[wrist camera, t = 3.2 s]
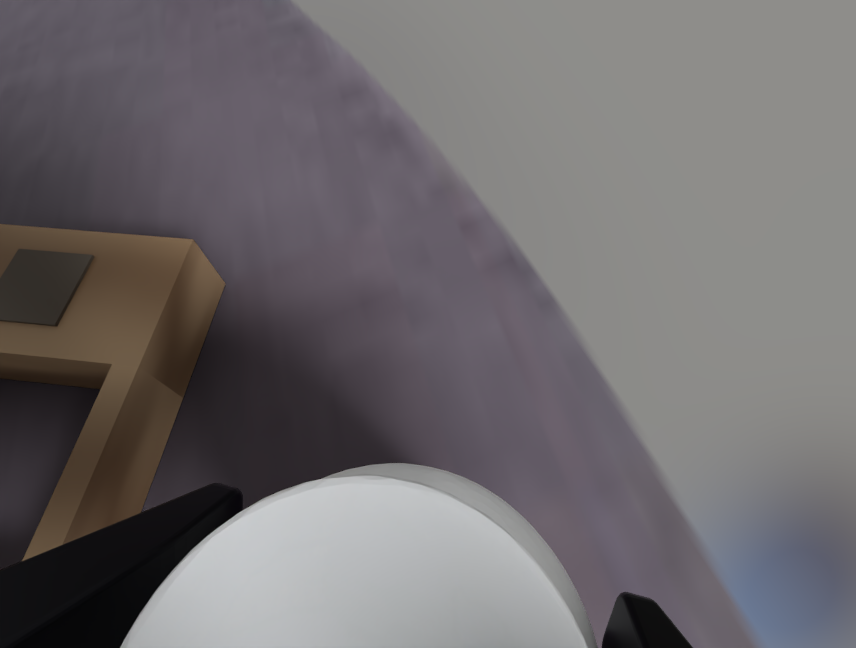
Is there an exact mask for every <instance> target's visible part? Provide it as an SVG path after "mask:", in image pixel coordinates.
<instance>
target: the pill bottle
mask: <svg viewBox="0 0 856 648" xmlns="http://www.w3.org/2000/svg"><path fill="white" fill-rule="evenodd" d="M120 648H598V647H597V643H596V640H595V636H594V633H593V630H592V627H591V624H590V621H589V619H588V616H587V613H586V611H585V608H584V606H583V604H582V602H581V599H580V597H579V595H578V593H577V591H576V588H575V587H574V585H573V583H572V581H571V580H570V578H569V576H568V574H567V572H566V571H565V569H564V567H563V566H562V564H561V563H560V561H559V560H558V558H557V557H556V555H555V554H554V552H553V551H552V550H551V548H550V547H549V546H548V544H547V543H546V542H545V541H544V540H543V538H542V537H541V536H540V535H539V534H538V533H537V531H536V530H535V529H534V528H533V527H532V526H531V524H530V523H529V522H528V521H527V520H526V519H525V518H524V517H523V516H521V515H520V514H519V513H518V512H517V511H516V510H515V509H513V508H512V507H511V506H510V505H509V504H508V503H506V502H505V501H504V500H502V499H501V498H500V497H498V496H497V495H495V494H494V493H492V492H490V491H489V490H487V489H486V488H484V487H482V486H481V485H479V484H477V483H475V482H473V481H471V480H468V479H466V478H464V477H462V476H459V475H456V474H454V473H451V472H448V471H445V470H441V469H437V468H433V467H428V466H422V465H415V464H407V463H386V464H374V465H367V466H362V467H357V468H352V469H347V470H344V471H341V472H338V473H335V474H332V475H329V476H326V477H324V478H322V479H319V480H314V481H309V482H305V483H302V484H299V485H296V486H293V487H290V488H287V489H284V490H282V491H279V492H277V493H274V494H272V495H270V496H268V497H265V498H263V499H261V500H260V501H258V502H256V503H255V504H253V505H251V506H249V507H248V508H246V509H244V510H243V511H241V512H239V513H238V514H236V515H235V516H233V517H232V518H231V519H229V520H228V521H227V522H225V523H224V524H222V525H221V526H220V527H218V528H217V529H215V530H214V531H213V532H212V533H211V534H209V535H208V536H207V537H206V538H205V539H203V540H202V541H201V542H200V543H199V544H198V545H197V546H195V547H194V548H193V549H192V550H191V551H190V552H189V553H188V554H187V555H186V556H185V557H184V558H183V559H182V561H181V562H180V563H179V564H178V565H177V566H176V567H175V568H174V569H173V570H172V571H171V573H170V574H169V575H168V576H167V578H166V579H165V580H164V581H163V582H162V584H161V585H160V586H159V587H158V588H157V590H156V591H155V592H154V594H153V595H152V597H151V598H150V600H149V601H148V602H147V604H146V605H145V607H144V608H143V610H142V611H141V612H140V614H139V616H138V617H137V619H136V621H135V622H134V624H133V626H132V627H131V629H130V631H129V632H128V634H127V636H126V638H125V639H124V641H123V643H122V645H121V647H120Z"/></svg>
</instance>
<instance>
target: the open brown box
mask: <svg viewBox="0 0 856 648" xmlns="http://www.w3.org/2000/svg"><path fill="white" fill-rule="evenodd" d="M224 286H225V282H224V281H223V280H222V278H221V277H220V275H219V274H218V273H217V271H216V270H215V269H214V267H213V266H212V265H211V263H210V262H209V260H208V259H207V258H206V256H205V255H204V254H203V252H202V251H201V249H200V248H199V247H198V245H197V244H196V243H195V241H194V240H193V239H181V238H169V237H156V236H144V235H131V234H119V233H106V232H94V231H81V230H69V229H57V228H44V227H32V226H19V225H7V224H0V378H2V379H11V380H20V381H29V382H39V383H48V384H57V385H66V386H76V387H85V388H94V389H100V392H99V394H98V396H97V398H96V400H95V403H94V405H93V407H92V409H91V411H90V414H89V416H88V418H87V420H86V422H85V424H84V427H83V429H82V431H81V433H80V435H79V438H78V440H77V442H76V444H75V446H74V449H73V451H72V453H71V455H70V457H69V459H68V462H67V464H66V466H65V468H64V470H63V473H62V475H61V477H60V479H59V481H58V484H57V486H56V488H55V490H54V492H53V494H52V497H51V499H50V501H49V503H48V505H47V508H46V510H45V512H44V514H43V516H42V518H41V521H40V523H39V525H38V527H37V529H36V532H35V534H34V536H33V538H32V540H31V543H30V545H29V547H28V549H27V551H26V553H25V556H24V558H23V560H22V561H24V560H26V559H29V558H31V557H34V556H36V555H38V554H41V553H43V552H46V551H48V550H51V549H53V548H56V547H58V546H60V545H63V544H65V543H68V542H70V541H73V540H75V539H78V538H80V537H83V536H85V535H87V534H90V533H92V532H95V531H97V530H100V529H102V528H105V527H107V526H109V525H112V524H114V523H117V522H119V521H122V520H124V519H127V518H129V517H131V516H134V515H136V514H139V513H141V510H142V508H143V505H144V502H145V500H146V497H147V494H148V492H149V489H150V486H151V483H152V481H153V478H154V475H155V473H156V470H157V467H158V465H159V462H160V459H161V456H162V454H163V451H164V448H165V446H166V443H167V440H168V438H169V435H170V432H171V429H172V427H173V424H174V421H175V419H176V416H177V413H178V411H179V408H180V405H181V402H182V400H183V397H184V394H185V392H186V389H187V386H188V384H189V381H190V378H191V375H192V373H193V370H194V367H195V365H196V362H197V359H198V357H199V354H200V351H201V348H202V346H203V343H204V340H205V338H206V335H207V332H208V330H209V327H210V324H211V321H212V319H213V316H214V313H215V311H216V308H217V305H218V303H219V300H220V297H221V294H222V292H223V289H224Z"/></svg>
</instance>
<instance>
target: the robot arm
mask: <svg viewBox="0 0 856 648" xmlns="http://www.w3.org/2000/svg"><path fill="white" fill-rule="evenodd" d="M242 508H243V495H242V492H241V491H240V490H239V489H238V488H235V487H231V486H228V485H224V484H220V483H213V484H210V485H207V486H205V487H202V488H200V489H198V490H195V491H193V492H190V493H188V494H185V495H183V496H180V497H178V498H176V499H173V500H171V501H168V502H166V503H163V504H161V505H158V506H156V507H153V508H151V509H149V510H146V511H144V512H141V513H139V514H136V515H134V516H131V517H129V518H127V519H124V520H122V521H119V522H117V523H114V524H112V525H109V526H107V527H105V528H102V529H100V530H97V531H95V532H92V533H90V534H87V535H85V536H83V537H80V538H78V539H75V540H73V541H70V542H68V543H65V544H63V545H60V546H58V547H56V548H53V549H51V550H48V551H46V552H43V553H41V554H38V555H36V556H34V557H31V558H29V559H26V560H24V561H21V562H19V563H16V564H14V565H12V566H9V567H7V568H4V569H2V570H0V648H120V647H121V645H122V643H123V641H124V639H125V638H126V636H127V634H128V632H129V631H130V629H131V627H132V626H133V624H134V622H135V621H136V619H137V617H138V616H139V614H140V612H141V611H142V610H143V608H144V607H145V605H146V604H147V602H148V601H149V600H150V598H151V597H152V595H153V594H154V592H155V591H156V590H157V588H158V587H159V586H160V585H161V584H162V582H163V581H164V580H165V579H166V578H167V576H168V575H169V574H170V573H171V571H172V570H173V569H174V568H175V567H176V566H177V565H178V564H179V563H180V562H181V561H182V559H183V558H184V557H185V556H186V555H187V554H188V553H189V552H190V551H191V550H192V549H193V548H194V547H195V546H197V545H198V544H199V543H200V542H201V541H202V540H203V539H205V538H206V537H207V536H208V535H209V534H211V533H212V532H213V531H214V530H215V529H217V528H218V527H220V526H221V525H222V524H224V523H225V522H227V521H228V520H229V519H231V518H232V517H233V516H235V515H236V514H238V513H239V512H241V511H242ZM602 648H693V647H692V646H691V645H690V643H689V642H688V641H687V640H686V638H685V637H684V636H683V635H682V633H681V632H680V631H679V630H678V629H677V627H676V626H675V625H674V624H673V622H672V621H671V620H670V619H669V617H668V616H667V615H666V614H665V612H664V611H663V610H662V609H661V608H660V606H659V605H658V604H657V603H656V602H655V601H654V600H652V599H650V598H647V597H643V596H640V595H636V594H632V593H628V592H623V593H620V595H619V596H618V597H617V600H616V602H615V605H614V608H613V611H612V614H611V616H610V619H609V622H608V625H607V628H606V631H605V634H604V637H603V642H602Z"/></svg>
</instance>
